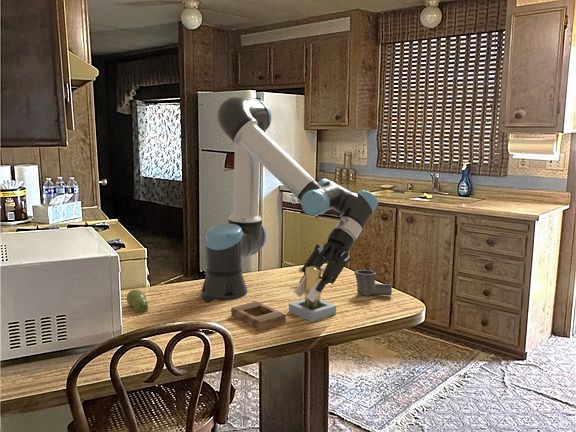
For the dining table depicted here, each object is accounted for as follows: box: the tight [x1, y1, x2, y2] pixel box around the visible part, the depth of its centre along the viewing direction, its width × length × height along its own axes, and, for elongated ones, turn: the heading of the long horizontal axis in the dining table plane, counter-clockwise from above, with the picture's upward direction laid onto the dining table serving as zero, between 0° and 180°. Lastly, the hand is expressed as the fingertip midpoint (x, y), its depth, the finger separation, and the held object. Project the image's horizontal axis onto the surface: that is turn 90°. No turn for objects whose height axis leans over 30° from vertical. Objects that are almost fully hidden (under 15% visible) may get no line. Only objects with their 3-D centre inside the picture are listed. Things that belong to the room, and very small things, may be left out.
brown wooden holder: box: [230, 300, 287, 332], centre depth 156 cm, size 14×9×4 cm, turn 40°
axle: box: [304, 266, 322, 310], centre depth 160 cm, size 5×5×13 cm
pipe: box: [353, 269, 393, 297], centre depth 182 cm, size 6×13×8 cm, turn 79°
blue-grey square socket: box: [288, 298, 337, 322], centre depth 161 cm, size 10×10×4 cm
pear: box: [125, 289, 149, 314], centre depth 167 cm, size 6×5×10 cm
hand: (303, 296), depth 158 cm, fingers open, 5 cm apart
